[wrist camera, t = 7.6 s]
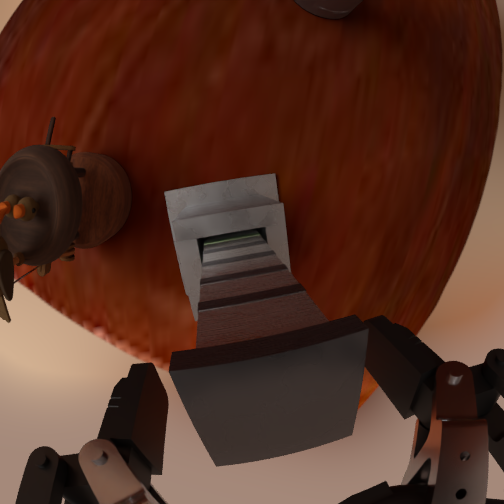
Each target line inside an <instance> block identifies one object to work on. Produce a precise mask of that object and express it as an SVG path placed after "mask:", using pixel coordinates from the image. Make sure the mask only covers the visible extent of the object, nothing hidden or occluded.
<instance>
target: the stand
mask: <svg viewBox="0 0 504 504" xmlns="http://www.w3.org/2000/svg"><path fill="white" fill-rule="evenodd" d="M164 193H165V199H166V204H167V210H168V215H169V220H170V225H171V230H172V235H173V240H174V244H175V249H176V254H177V258H178V262H179V267H180V271H181V275H182V279H183V283H184V287H185V291H186V295H189V299H190V303H191V307H192V311H193V315H194V318H195V321H198V311H197V310H198V302H199V298H200V279H201V275H202V263H203V251H204V242H205V237H208V236H214V235H219V234H225V233H231V232H237V231H242V230H248V229H254V228H255V229H256V231H257V232H259V233H260V236H261V237H262V238H263V239H264V240H265V241H266V242H267V244H268V245H269V247H270V248H271V249H272V250H274V252H275V253H276V255H277V257H278V258H279V259H280V260H281V262H282V263H283V264H285V265H286V266H287V268H288V270H289V272H290V273H291V270H290V260H289V250H288V241H287V232H286V223H285V215H284V206H283V203H282V202H279V199H278V191H277V184H276V176H275V174H266V175H259V176H252V177H245V178H238V179H232V180H225V181H219V182H213V183H208V184H202V185H196V186H191V187H186V188H181V189H176V190H171V191H166V192H164Z"/></svg>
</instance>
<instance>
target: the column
mask: <svg viewBox="0 0 504 504" xmlns="http://www.w3.org/2000/svg"><path fill="white" fill-rule="evenodd" d="M197 311H198V325H197V340H196V349H191V350H184V351H176V352H172V355H171V361H170V367H169V373H170V375H171V378H172V380H173V382H174V385H175V387H176V389H177V391H178V394H179V395H180V398H181V400H182V402H183V404H184V406H185V409H186V411H187V413H188V415H189V417H190V419H191V421H192V423H193V425H194V427H195V429H196V431H197V433H198V434H199V437H200V438H201V440H202V442H203V444H204V446H205V447H206V449H207V451H208V452H209V455H210V456H211V458H212V460H213V462H214V463H215V465H216V466H224V465H233V464H241V463H247V462H253V461H259V460H264V459H270V458H274V457H279V456H283V455H288V454H292V453H295V452H300V451H304V450H307V449H311V448H314V447H318V446H321V445H324V444H327V443H330V442H333V441H336V440H339V439H342V438H345V437H347V436H350V435H352V433H353V428H354V423H355V419H356V414H357V409H358V404H359V399H360V393H361V387H362V381H363V374H364V367H365V359H366V351H367V342H368V332H369V328H368V327H367V326H366V325H365V324H364V323H363V322H362V321H361V320H360V319H359V318H358V317H357V316H356V315H351V316H348V317H344V318H341V319H337V320H333V321H330V322H329V321H328V320H327V318H326V317H325V316H324V314H323V313H322V312H321V311H320V309H319V308H318V307H317V306H316V304H315V303H314V302H313V300H312V299H311V298H310V297H309V295H308V294H307V293H306V290H305V289H304V287H303V286H302V285H301V284H300V283H298V282H297V280H296V279H295V278H294V277H293V275H292V274H291V273H290V272H289V270H288V268H287V266H286V265H285V264H283V263H282V262H281V260H280V259H279V258H278V257H277V255H276V253H275V252H274V250H272V249H271V248H270V247H269V245H268V244H267V242H266V241H265V240H264V239H263V238H262V237H261V236H260V233H259V232H257V231H256V229H255V228H254V229H248V230H242V231H237V232H231V233H225V234H219V235H214V236H208V237H205V242H204V251H203V263H202V275H201V279H200V298H199V302H198V310H197Z"/></svg>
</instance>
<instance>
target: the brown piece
mask: <svg viewBox="0 0 504 504" xmlns="http://www.w3.org/2000/svg"><path fill="white" fill-rule="evenodd" d="M55 120H56V118H55V117H52V118H51V121H50V125H49V129H48V134H47V139H46V144H45V145H33V146H29V147H26V148H23V149H21V150H20V151H18V152H16V153H15V154H14V155H13V156H11V157H10V158H9V160H8V161H7V162H6V163H5V164H4V166H3V167H2V169H1V170H0V317H1V318H2V319H3V320H6V321H7V322H8V323H9V322H10V321H11V319H10V316H9V313H8V310H7V306H6V303H5V300H4V296H5V298H6V299H7V300H8V301H11V300H12V298H13V288H14V283H16V282H17V281H19V280H20V279H22V278H23V277H25V276H26V275H28V274H29V273H31V272H32V271H34V270H35V269H37V272H38V274H39V275H40V276H44V275H46V274H47V273H49V272H50V269H51V262H53V261H54V260H56V259H57V258H60V260H62V261H72V260H74V259H75V256H74V253H75V248H74V247H76V248H82V249H86V248H92V247H95V246H98V245H100V244H101V243H103V242H105V241H106V240H108V239H109V238H111V237H112V236H114V235H115V234H116V233H117V232H118V231H119V230H120V229H121V228H122V226H123V225H124V223H125V222H126V220H127V218H128V215H129V212H130V208H131V202H132V192H131V185H130V182H129V179H128V176H127V174H126V172H125V171H124V169H123V168H122V167H121V165H120V164H119V163H118V162H116V161H115V160H114V159H112V158H110V157H108V156H106V155H102V154H96V153H90V152H81V153H76V154H73V155H72V151H75V148H76V147H74V146H62V145H50V142H51V137H52V133H53V128H54V124H55ZM58 150H68V153H67V157H66V156H65V155H63V154H62V153H61V152H60V151H58ZM23 263H24V264H27V265H32V266H37V267H36V268H34V269H33V270H31V271H30V272H28V273H26V274H25V275H23V276H22V277H20V278H19V279H17V280H16V281H15V282H14V265H15V264H16V265H17V266H20V265H22V264H23ZM3 295H4V296H3Z"/></svg>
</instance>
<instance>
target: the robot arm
mask: <svg viewBox="0 0 504 504" xmlns="http://www.w3.org/2000/svg"><path fill="white" fill-rule="evenodd" d="M294 1H295V2H296V3H297V4H298V5H300V6H301V7H302V8H303V9H305V10H307V11H308V12H310V13H312V14H315V15H317V16H320V17H324V18H328V19H339V18H343V17H345V16H347V15H348V14H349V13H350V12H351V11H352V10H353V9H354V8H355V7H356V6H357V5H358V4H360V3H361V2H362V1H363V0H294ZM364 324H365V325H366V326H367V327H368V328H369V332H368V342H367V351H366V359H365V367H366V369H367V370H368V371H369V373H370V374H371V375H372V377H373V378H374V379H375V380H376V382H377V383H378V384H379V386H380V387H381V388H382V390H383V391H384V392H385V393H386V395H387V396H388V398H389V399H390V401H391V402H392V403H393V404H394V405H395V407H396V409H397V410H398V411H399V413H400V414H401V415H402V417H403V418H404V419H407V418H409V417H411V416H412V415H414V414H415V415H416V416H417V418H418V419H417V421H416V426H415V433H414V440H413V446H412V451H411V457H410V462H409V465H408V468H407V470H406V472H405V475H404V477H403V480H402V483H401V485H397V486H390V487H389V485H388V484H387V482H386V481H385V482H382V483H380V484H378V485H376V486H374V487H372V488H369V489H367V490H364V491H362V492H360V493H357V494H354V495H352V496H350V497H349V498H347V499H345V500H344V501H342V502H340V503H339V504H504V500H499V499H488V498H486V494H487V482H488V459H489V453H488V452H490V453H491V455H492V456H493V457H494V459H495V460H496V462H497V463H498V464H499V466H500V467H501V469H502V470H503V472H504V410H503V409H502V408H501V407H500V406H499V405H498V404H497V400H498V398H499V396H500V395H502V397H503V398H504V349H493V350H491V351H490V352H489V353H488V354H487V356H486V359H485V361H484V363H482V364H479V365H475V366H472V367H468V366H467V365H465V364H463V363H461V362H458V361H449V362H444V361H443V360H442V359H441V358H440V357H439V356H438V355H437V354H436V353H435V352H433V351H432V350H431V349H430V348H429V347H428V346H427V345H426V344H424V343H423V342H421V340H420V339H419V338H418V337H417V336H416V337H415V335H414V334H413V333H412V332H411V331H410V330H409V329H408V328H406V327H403V326H401V325H399V324H396V323H395V324H393V323H391V322H390V321H389V320H388V319H387V318H386V317H385V316H383V315H380V316H377V317H374V318H371V319H368V320H365V321H364ZM167 414H168V396H167V393H166V390H165V388H164V386H163V384H162V382H161V380H160V378H159V375H158V373H157V371H156V368H155V366H154V364H153V363H140V364H132V366H131V368H130V371H129V374H128V377H127V378H122V379H121V380H120V381H119V382H118V383H117V384H116V386H115V387H114V389H113V392H112V395H111V399H110V400H109V403H108V408H107V410H106V412H105V416H104V419H103V422H102V425H101V428H100V431H99V434H98V437H97V439H95V440H92V441H89V442H88V443H86V444H85V445H84V446H83V447H82V448H81V450H80V452H79V453H78V454H72V455H63V456H60V455H58V454H57V452H55V450H53V449H52V448H50V447H46V446H43V447H39V448H37V449H35V450H34V451H33V452H32V453H31V455H30V456H29V459H28V462H27V465H26V468H25V471H24V474H23V478H22V481H21V484H20V488H19V492H18V495H17V499H16V504H61V503H62V497H63V498H64V499H65V503H64V504H168V503H167V502H166V501H165V500H164V498H163V497H162V496H161V495H160V494H159V493H158V491H157V490H156V489H155V488H154V486H153V485H152V484H151V483H150V482H151V475H162V468H163V454H164V443H165V433H166V423H167Z"/></svg>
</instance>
